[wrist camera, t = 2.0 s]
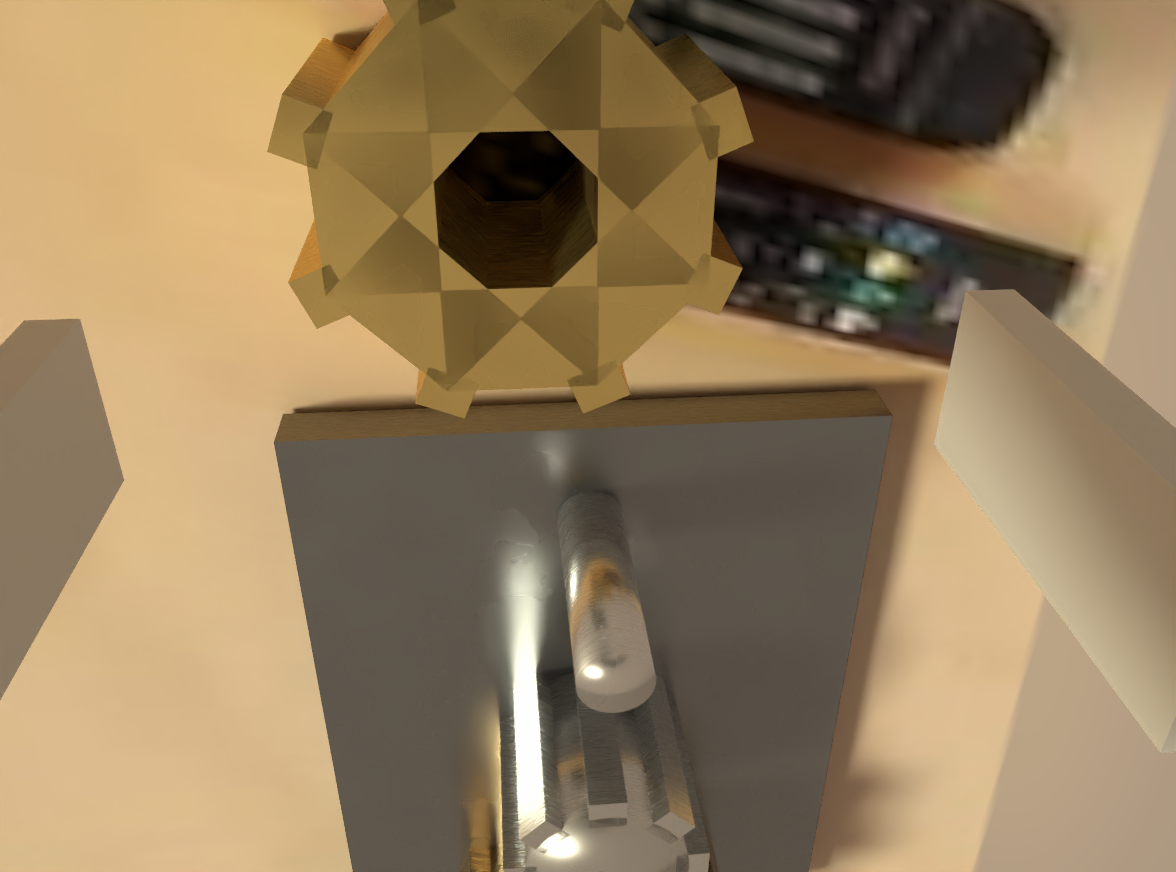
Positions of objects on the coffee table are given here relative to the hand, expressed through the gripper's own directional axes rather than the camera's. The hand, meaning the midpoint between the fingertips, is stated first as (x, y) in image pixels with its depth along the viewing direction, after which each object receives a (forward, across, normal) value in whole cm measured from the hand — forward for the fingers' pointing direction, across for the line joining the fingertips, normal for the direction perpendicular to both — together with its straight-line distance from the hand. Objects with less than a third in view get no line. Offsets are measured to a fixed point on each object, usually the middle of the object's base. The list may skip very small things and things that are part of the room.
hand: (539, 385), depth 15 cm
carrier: (+13, +2, -20) cm, 24 cm away
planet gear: (+13, 0, 0) cm, 13 cm away
